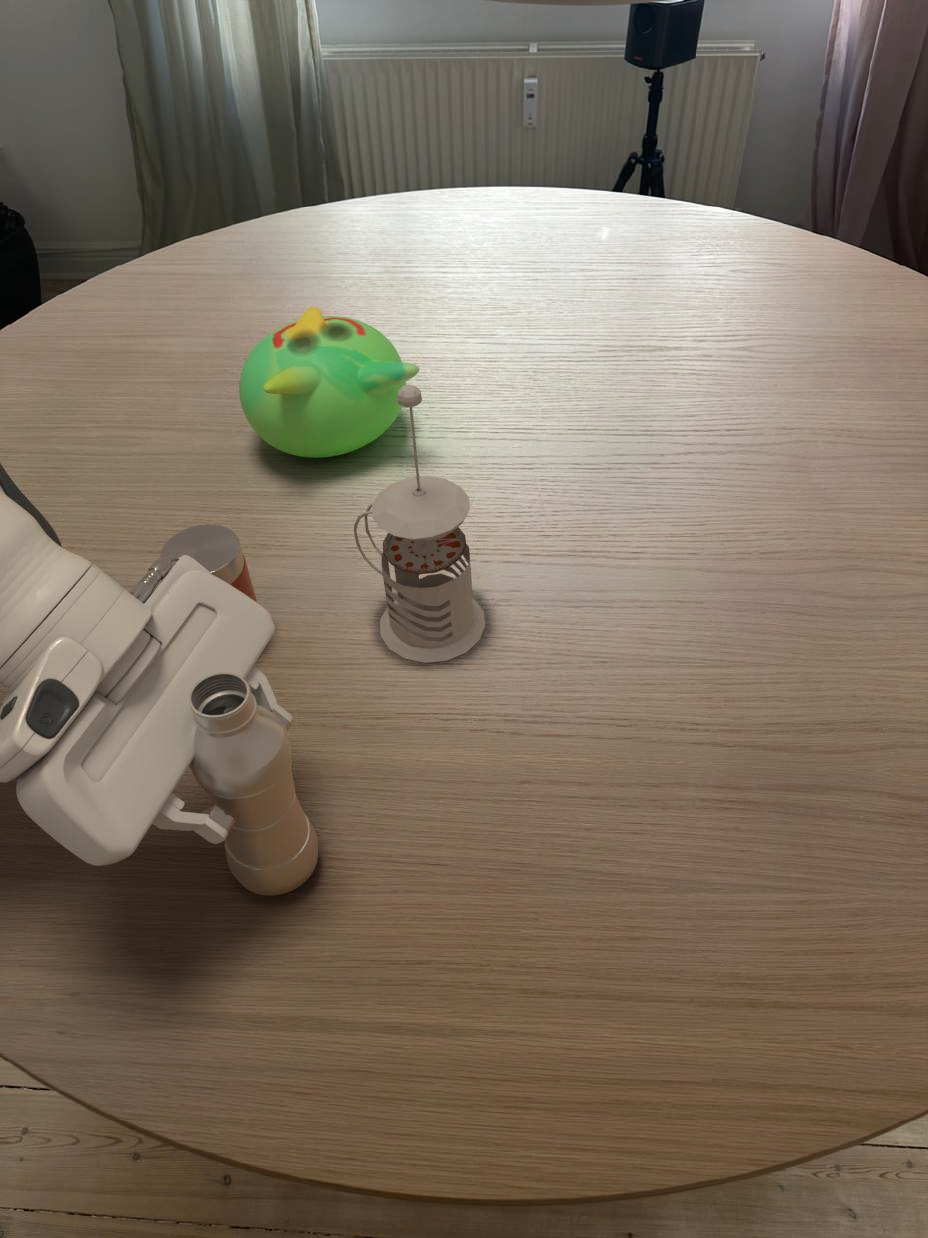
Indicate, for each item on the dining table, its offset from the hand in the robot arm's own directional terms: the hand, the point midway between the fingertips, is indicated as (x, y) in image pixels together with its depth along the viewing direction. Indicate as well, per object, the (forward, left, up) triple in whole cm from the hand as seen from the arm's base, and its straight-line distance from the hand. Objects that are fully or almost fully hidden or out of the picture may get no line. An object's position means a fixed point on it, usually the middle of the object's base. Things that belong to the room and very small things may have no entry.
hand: (256, 779), depth 65 cm
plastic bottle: (-1, 0, -12) cm, 12 cm away
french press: (+10, +25, -12) cm, 30 cm away
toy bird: (0, +54, -12) cm, 55 cm away
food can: (-8, +24, -11) cm, 28 cm away
